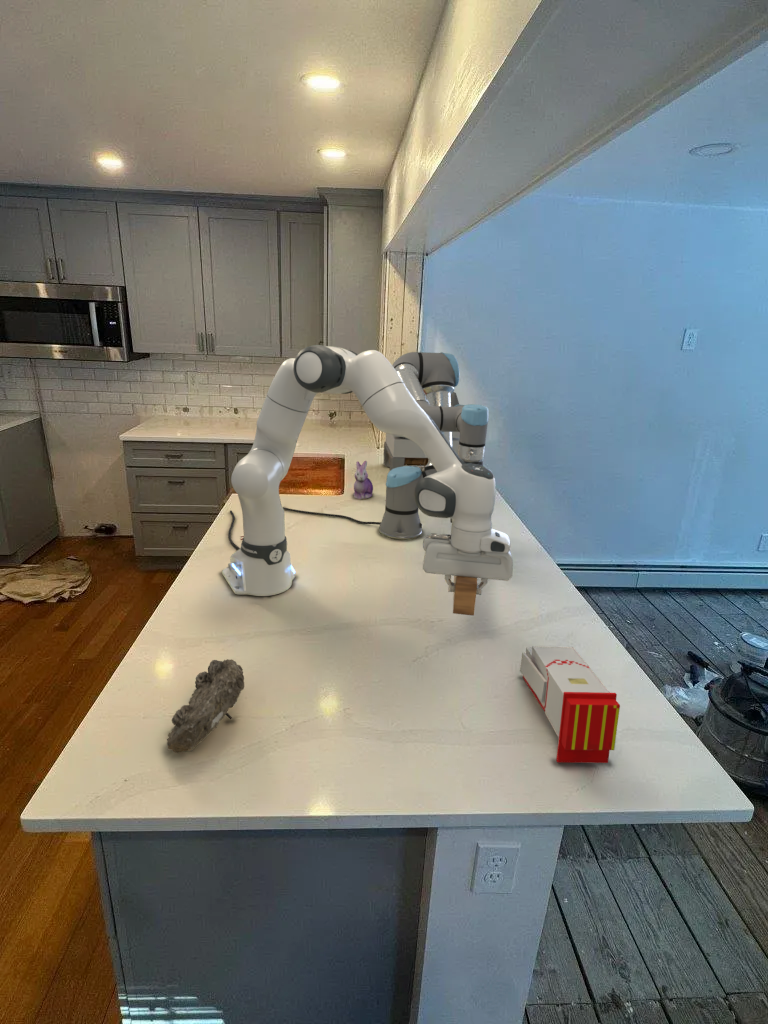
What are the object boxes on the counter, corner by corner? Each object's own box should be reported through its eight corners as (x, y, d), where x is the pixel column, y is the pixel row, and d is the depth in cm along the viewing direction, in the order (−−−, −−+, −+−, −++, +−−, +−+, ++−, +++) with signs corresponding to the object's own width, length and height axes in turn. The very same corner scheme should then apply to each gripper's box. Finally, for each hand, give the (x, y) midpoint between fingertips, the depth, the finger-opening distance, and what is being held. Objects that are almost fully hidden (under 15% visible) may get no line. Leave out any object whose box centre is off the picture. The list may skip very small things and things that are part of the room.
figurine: (357, 501, 231) (358, 465, 226) (347, 493, 240) (348, 459, 235) (378, 498, 235) (379, 463, 230) (367, 491, 244) (368, 457, 239)
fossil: (192, 660, 117) (244, 628, 112) (224, 691, 120) (276, 661, 115) (142, 746, 98) (202, 712, 93) (182, 779, 101) (242, 748, 96)
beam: (455, 529, 177) (457, 506, 175) (470, 530, 177) (472, 507, 174) (452, 613, 128) (455, 582, 125) (473, 615, 127) (477, 584, 125)
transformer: (382, 463, 289) (386, 382, 275) (445, 464, 293) (451, 384, 279) (390, 482, 257) (394, 392, 243) (460, 483, 261) (468, 394, 247)
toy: (568, 628, 125) (630, 701, 96) (562, 684, 128) (620, 770, 99) (514, 627, 125) (559, 699, 96) (509, 683, 128) (551, 770, 98)
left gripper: (422, 538, 124) (418, 594, 129) (517, 546, 122) (509, 603, 127) (424, 527, 130) (420, 581, 135) (515, 535, 128) (507, 590, 133)
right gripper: (439, 460, 162) (433, 535, 170) (502, 464, 160) (493, 540, 168) (440, 453, 169) (434, 526, 177) (500, 458, 167) (492, 531, 175)
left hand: (464, 592), depth 131 cm, fingers closed on beam, 5 cm apart
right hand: (463, 533), depth 172 cm, fingers closed on beam, 5 cm apart
